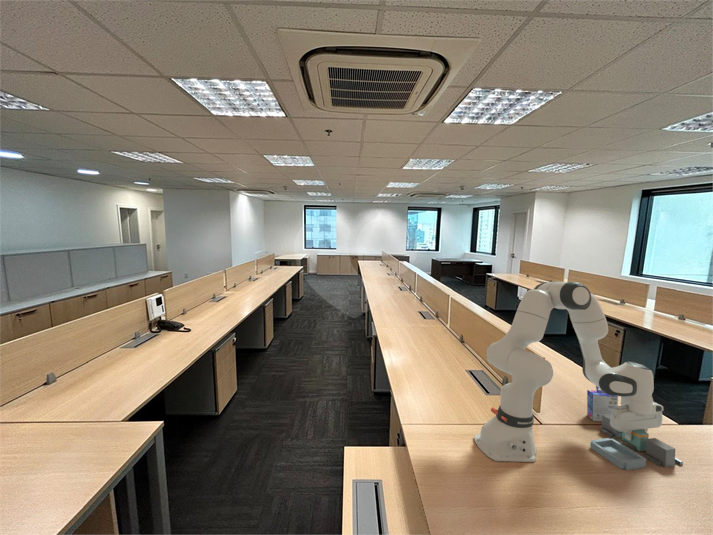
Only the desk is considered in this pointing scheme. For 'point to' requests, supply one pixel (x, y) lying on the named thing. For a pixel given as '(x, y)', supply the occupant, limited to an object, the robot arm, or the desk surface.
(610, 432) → the clip rail
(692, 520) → the desk surface
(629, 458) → the tray
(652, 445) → the block
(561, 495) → the desk surface
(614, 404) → the ink cartridge box
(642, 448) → the block
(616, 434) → the block
